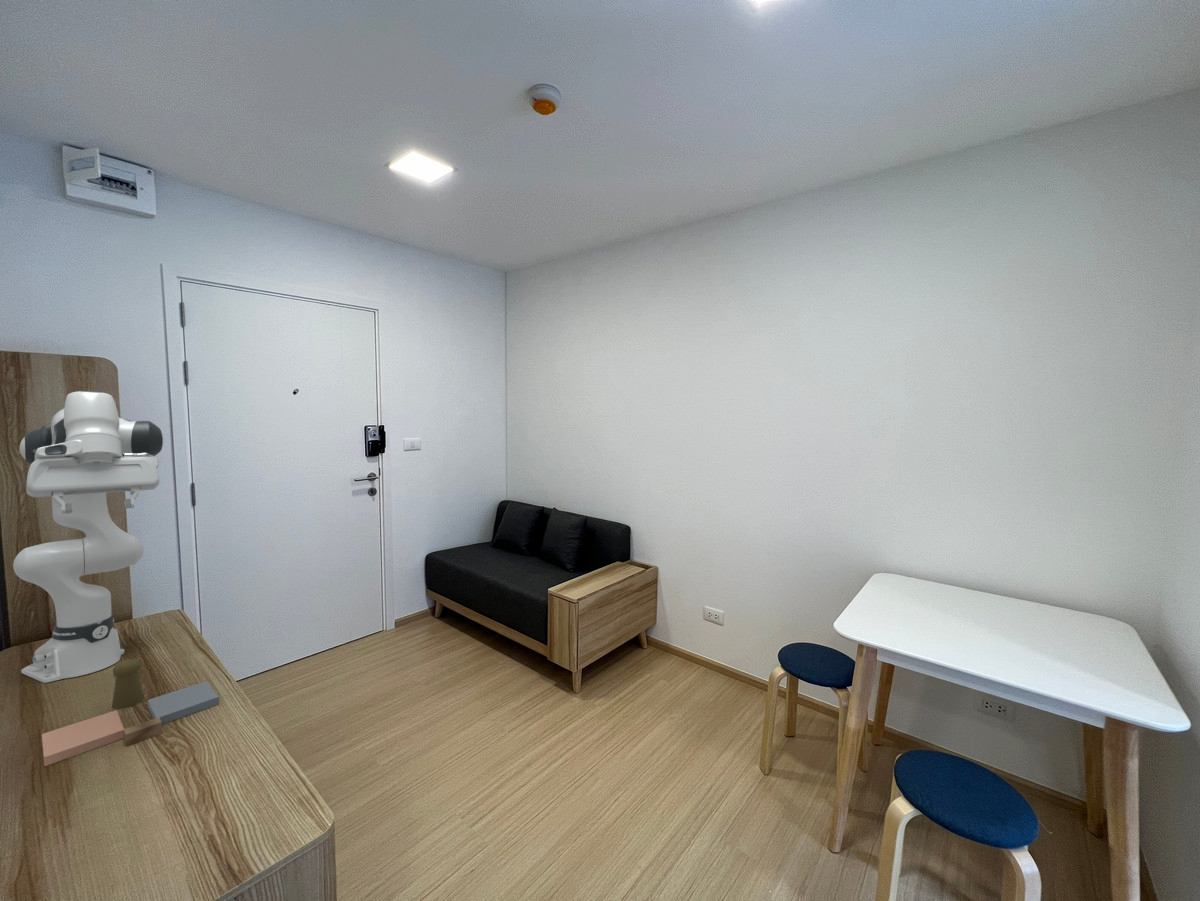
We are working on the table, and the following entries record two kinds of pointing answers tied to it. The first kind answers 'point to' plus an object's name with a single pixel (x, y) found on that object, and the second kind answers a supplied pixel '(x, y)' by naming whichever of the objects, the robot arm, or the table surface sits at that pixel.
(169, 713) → the steel tile
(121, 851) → the table surface
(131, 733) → the walnut brick
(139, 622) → the table surface
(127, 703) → the olive rounded tall piece
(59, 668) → the robot arm
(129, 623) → the table surface
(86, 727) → the terracotta tile
